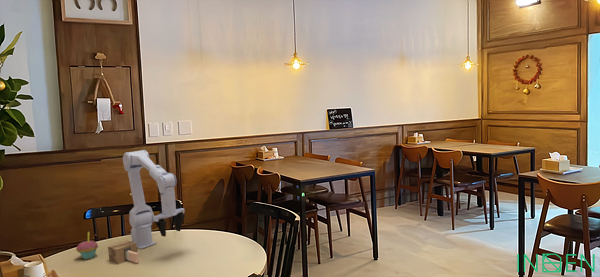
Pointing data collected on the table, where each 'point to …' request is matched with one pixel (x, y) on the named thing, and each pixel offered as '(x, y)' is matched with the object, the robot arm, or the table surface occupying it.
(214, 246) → the table surface
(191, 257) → the table surface
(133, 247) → the dispenser
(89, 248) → the cupcake
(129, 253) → the pink flat bar
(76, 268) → the table surface
